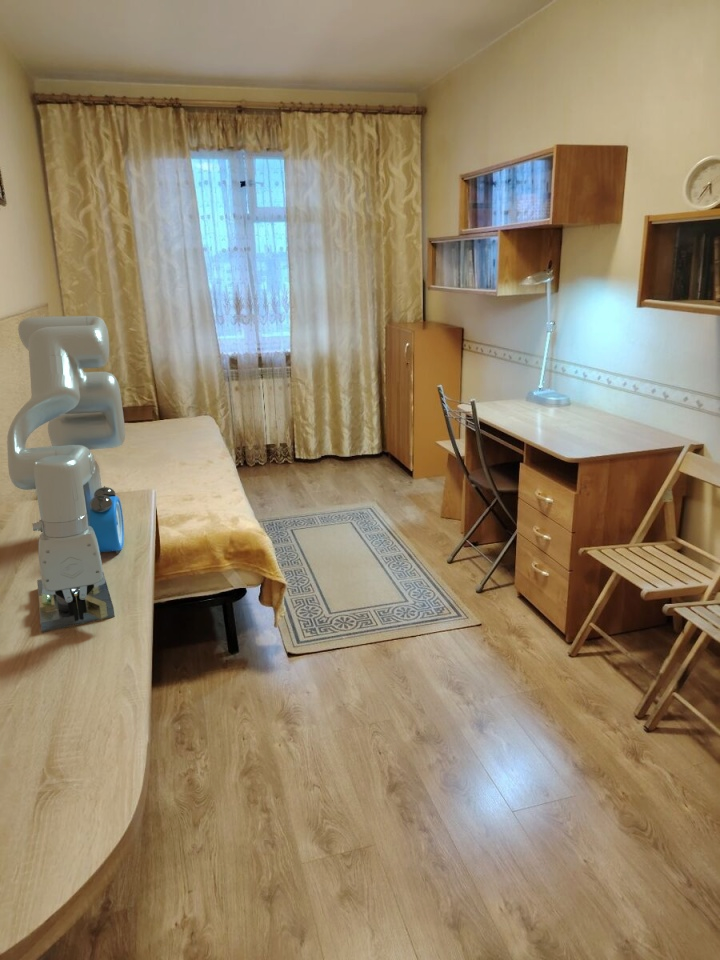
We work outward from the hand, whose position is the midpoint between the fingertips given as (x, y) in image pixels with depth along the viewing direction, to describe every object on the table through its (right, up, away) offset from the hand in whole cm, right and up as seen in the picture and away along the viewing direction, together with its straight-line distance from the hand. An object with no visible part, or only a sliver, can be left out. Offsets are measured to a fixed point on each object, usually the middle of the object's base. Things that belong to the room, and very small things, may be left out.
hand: (78, 616), depth 125 cm
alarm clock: (-8, +8, +38) cm, 39 cm away
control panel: (-6, 0, +12) cm, 14 cm away
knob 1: (-6, +3, +12) cm, 14 cm away
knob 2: (-1, 0, +4) cm, 4 cm away
